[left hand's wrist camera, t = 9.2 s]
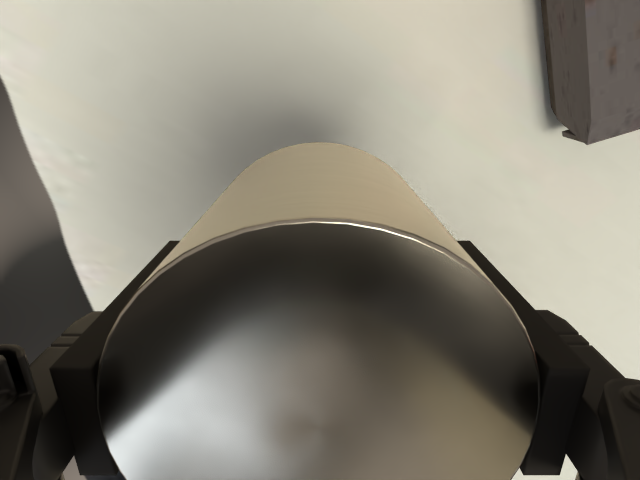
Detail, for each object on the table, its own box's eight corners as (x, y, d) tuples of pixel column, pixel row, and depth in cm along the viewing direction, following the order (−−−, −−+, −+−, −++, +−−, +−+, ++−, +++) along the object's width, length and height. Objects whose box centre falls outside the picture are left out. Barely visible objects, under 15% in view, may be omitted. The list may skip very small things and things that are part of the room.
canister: (419, 341, 18) (507, 566, 9) (222, 344, 18) (138, 571, 9) (436, 139, 14) (586, 212, 6) (197, 144, 15) (41, 222, 6)
